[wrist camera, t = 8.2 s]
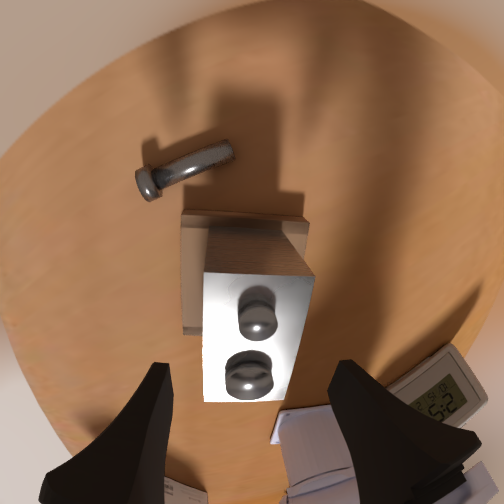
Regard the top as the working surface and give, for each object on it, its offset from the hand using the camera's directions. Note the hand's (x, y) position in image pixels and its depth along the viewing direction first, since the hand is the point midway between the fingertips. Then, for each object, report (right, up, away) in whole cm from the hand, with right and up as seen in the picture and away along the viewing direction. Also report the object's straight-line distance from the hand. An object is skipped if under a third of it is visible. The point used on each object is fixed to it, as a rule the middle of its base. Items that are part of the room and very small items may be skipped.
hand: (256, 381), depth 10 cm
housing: (-1, +3, +8) cm, 8 cm away
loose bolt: (-4, +11, +6) cm, 13 cm away
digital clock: (+20, -12, +18) cm, 29 cm away
